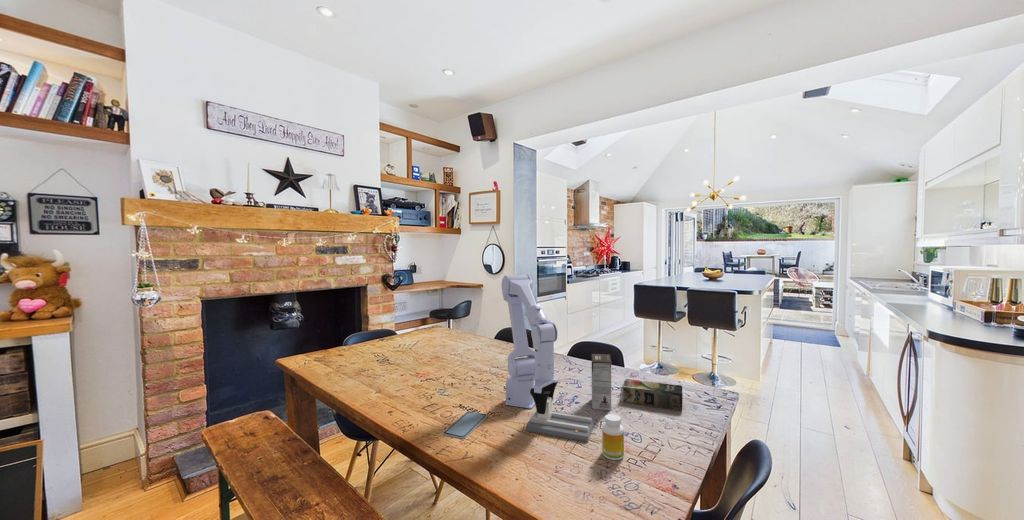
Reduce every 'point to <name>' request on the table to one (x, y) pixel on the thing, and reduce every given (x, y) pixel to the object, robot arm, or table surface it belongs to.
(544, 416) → the fader tab
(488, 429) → the table surface
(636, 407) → the table surface
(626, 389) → the juice carton
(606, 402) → the coffee box
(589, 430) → the grey slider track
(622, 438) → the supplement bottle
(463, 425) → the smartphone
